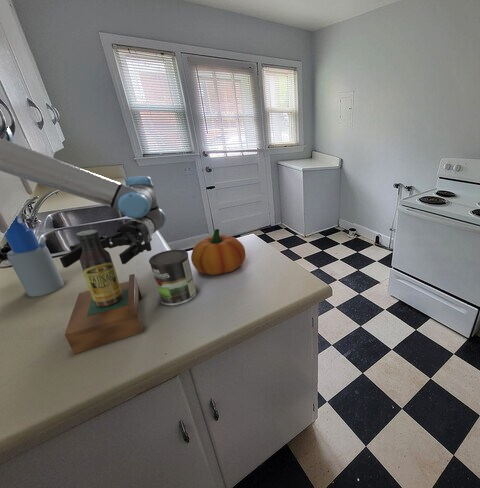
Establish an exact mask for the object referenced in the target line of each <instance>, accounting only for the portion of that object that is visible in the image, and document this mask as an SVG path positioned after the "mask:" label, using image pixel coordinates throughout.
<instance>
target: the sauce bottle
mask: <svg viewBox="0 0 480 488" xmlns="http://www.w3.org/2000/svg"><path fill="white" fill-rule="evenodd" d="M75 236H76V239H77V240H78V241H79V243H80V244H81V247H82V250H83V251H82V254H81V257H80V260H79V263H80V265H81V268H82V273H83V277H84V279H85V281H86V284H87V288H88V291H90V293H91V296H92V299H93V301H94V302H95V305H96V306H99V307H100V306H101V307H103V306H109V305H112V304H114V303H116V302H118V301H120V300H121V298H122V291H121V288H120V284H119V283H120V281H119V278H118V274H117V271H116V267H115V265H114V263H113V259H112V257H111V254H110V252H109V251H108V250H106V248H105V249H104V248H102V245H101V243H100V240H99V236H100V234H99V231H98V230H96V229H86V230H82V231H79V232H76V235H75Z"/></svg>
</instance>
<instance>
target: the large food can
mask: <svg viewBox="0 0 480 488" xmlns="http://www.w3.org/2000/svg"><path fill="white" fill-rule="evenodd" d="M148 262H149V265H150V269H151V271H152V274H153V278H154V281H155V284H156V288H157V291H158V295H159V298H160V302H161V304H162V305H164V306H169V307H170V306H171V307H172V306H178V305H182V304H185V303H187V302H189V301H191V300H192V299H193V298H195V297H196V295H197V289H196V285H195V281H194V277H193V272H192V267H191V263H190V259H189V252H188V251H186V250H184V249H168V250H164V251H161V252H158V253H156V254H153V255H152V256H151V257H149V259H148Z"/></svg>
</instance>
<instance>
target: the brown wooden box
mask: <svg viewBox="0 0 480 488" xmlns="http://www.w3.org/2000/svg"><path fill="white" fill-rule="evenodd" d="M119 284H120V288H121V291H122V298H121V300H120V301H118V302H116V303H114V304H112V305H109V306H103V307H101V306H100V307H99V306H96V305H95V302H94V301H93V299H92V296H91V293H90V290H86V291H81V292H79V293H78V295H77V298H76V301H75V303H74V307H73V309H72V312H71V315H70V318H69V320H68V324H67V326H66V329H65V332H64V337H65V338H66V340H67V343H68V345H69V346H70V348H71V351H72V353H73V354H74V355H76V354H79V353H82V352H86V351H89V350H92V349H95V348H98V347H101V346H104V345H107V344H110V343H113V342H117V341H120V340H123V339H126V338H129V337H132V336H134V335H138V334H141V333H144V327H143V324H142V321H141V318H140V315H139V299H141V298H142V299H143V294H142V290H141V288H140V285H139V282H138V279H137V275H136V273H132V274H129V275H128V281H124V282H119Z"/></svg>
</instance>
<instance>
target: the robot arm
mask: <svg viewBox="0 0 480 488" xmlns="http://www.w3.org/2000/svg"><path fill="white" fill-rule="evenodd" d="M13 141H14V136H13V132H12V130H11V129H10V127H9V126H8V128H7V130H6V134H5V137H4V138H3V139H1V138H0V172H2V173H5V174H8V175H12V176H15V177H18V178H20V179H24V180H27V181H30V182H33V183H35V184H39V185H42V186H45V187H48V188H52V189H55V190H57V191H60V192H63V193H66V194H69V195H73V196H76V197H79V198H82V199H84V200H88V201H91V202H94V203H97V204H100V205H103V206H107V207H109V208H113V209H114V210H118V211H119V212H120V213H121V214H122V215H124V216H125V217H127V218H130V219H129V220H127V221H125V222H124V223H123V224H121V225H119V227H118V228H117V229H116V232H114V233H113V234H110V235H107V234H106V233H103V234H101V235H100V234H99V240H100V243H101V245H102V248H104V249H105V250H106V249H113V248H114V249H115V248H117V247H123V246H129V247H127V248H125V250H123V251H122V252H120V253H119V254H118V256H119V259H120V262H121V264H122V265H126V264H127V263H129V262H130V261H131V260H132V259H133V258H134V257H136V256H138V255H139V254H141V253H143V252H145V251H146V252H151V251H152V244H151V242H152V240H153V238H152V235H154V233H156V232H157V231H159V230H160V229H162V228H163V226H165V224H166V222H167V214H166V213H165V212H164V210H162V209H161V208H160V207H159V204H158V200H157V196H156V191H155V187H154V184H153V182H152V178H151V177H150V176H148V175H135V176H129V177H126V178H125V179H124V183H125V184H124V183H120V182H118V181H117V180H113V179H110V178H108V177H105V176H102V175H100V174H97V173H95V172H92V171H90V170H86V169H85V168H82V167H78V166H76V165H74V164H70V163H67V162H66V161H63V160H60V159H57V158H55V157H52V156H49V155H47V154H44V153H41V152H38V151H36V150H33V149H31V148H28V147H25V146H22V145H19V144H17V143H15V142H13ZM69 250H70V251H69V252H67V253H66V254H63V255H62V256H61V257H59V260H60V263H61V265H62V267H63V268H64V269H66V268H70V266H72V265H74V264H75V263H76V262H78V261H80V257H81V254H82V251H83V250H82V247H81V244H80V242H78V243H75V244H73V245H70V246H69Z"/></svg>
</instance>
